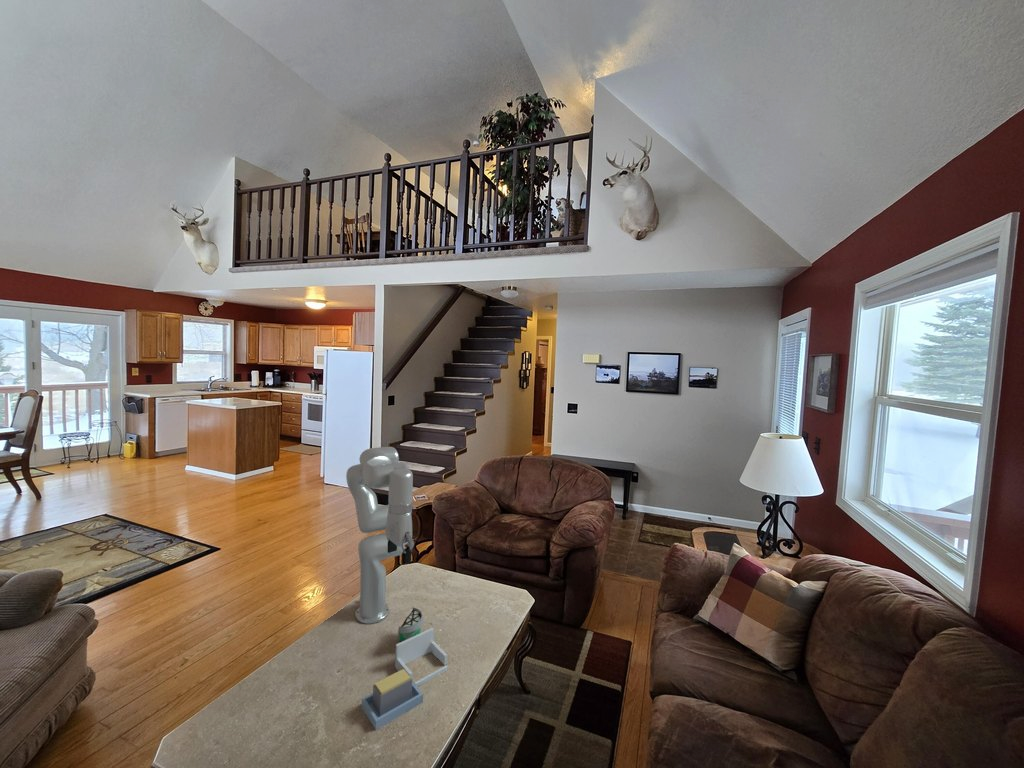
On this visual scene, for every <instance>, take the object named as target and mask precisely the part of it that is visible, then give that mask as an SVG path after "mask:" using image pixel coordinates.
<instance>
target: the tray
mask: <svg viewBox="0 0 1024 768" xmlns="http://www.w3.org/2000/svg"><path fill="white" fill-rule="evenodd" d="M423 703H424V694H423V692H422V691H421V689H419V686H418V687H417V686H416V685H415V682H413V680H412V699H410V700H408V701H406V702H405V703H403V704H401V705H399V706H398V707H396V708H394V709H392V710H391V711H389V712H387V713H385V714H384V715H382V716H379V714H378V713H377V711H376V710H375V708H374V706H373V692H372V693H370V694H368V695H366V696H364V697H362V698H361V709H362V710H363V712H364V713H365V715H366V717H367V718H368V719H369V722H370V723H371V725H372V726H373V727H374V729H375V731H376V730H378V729H380V728H382V727H384V726H386V725H387V724H389V723H390V722H393V721H394V720H395V719H397V718H399V717H401V716H402V715H404V714H406V713H408V712H409V711H410V710H412V709H414V708H416V707H417V706H419V705H421V704H423Z"/></svg>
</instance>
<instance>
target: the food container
mask: <svg viewBox="0 0 1024 768" xmlns="http://www.w3.org/2000/svg"><path fill="white" fill-rule="evenodd" d="M423 624H424V616H423V613H422V611H421V610H420V609H418V608H416V607H414V606H413V607H412V610H411V612H410V613H409V614H408V616H407V617H406V618H405V619H404V621H403V623H402V625H400V626H398V630H397V633H398V643H401V642H403V641H405V640H407V639H409V638H411V637H413V636H416V635H418V634H420V633H422V631H421V630H422V626H423Z"/></svg>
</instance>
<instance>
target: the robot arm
mask: <svg viewBox="0 0 1024 768" xmlns="http://www.w3.org/2000/svg"><path fill="white" fill-rule="evenodd" d="M399 461H400V456H399V453H398V451H397V449H396V448H395V447H394V446H381V447H380V446H379V447H371V448H367V449H365V450H363V451H362V452H361V454H360V456H359V463H358V464H355V465H351V466H350V467H348V469H347V471H346V476H345V477H346V484H347V487H348V490H349V492H350V494H351V496H352V498H353V500H354V504H355V512H356V519H357V524H358V528H359V531H360V532H361V533H362V534H371V533H376V532H382V531H385V532H383V533H379V534H373V535H369V536H367V537H364V538H362V539H361V540H360V541H359V543H358V544H357V546H358V549H357V551H358V558H359V564H360V565H359V566H360V567H359V569H360V570H359V572H360V573H359V575H360V578H359V607H358V608H357V609H356V611H355V619H356V621H358V623H359V622H360V623H362V624H367V625H369V624H376V623H379V622H382V621H383V620H385V619H386V618H387V617H388V615H389V614H390V607H389V605H388V604H387V603H386V588H387V587H386V586H387V585H386V583H387V579H386V578H387V571H386V567H385V565H384V564H383V563H382V562H381V561H383V560H386V559H391V558H394V557H398V556H401V563H400V564H401V565H402V566H404V565H407V564H410V563H411V562H412V552H413V549H414V546H415V541H414V540H413V520H412V511H413V488H414V487H413V486H414V485H413V482H414V481H413V479H414V475H413V474H414V473H413V472H412V470H410V467H409V466H408V464H407V463H405V462H399ZM380 488H388V504H386V505H379V504H378V503H379V502H378V497H377V494H376V493H375V492H374V491H373V490H372V489H380Z"/></svg>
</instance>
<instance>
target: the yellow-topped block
mask: <svg viewBox="0 0 1024 768" xmlns="http://www.w3.org/2000/svg"><path fill="white" fill-rule="evenodd" d="M412 681H413V677H412V678H411V677H410V676H409V675H408V673H407V672H406V671H405V670H404V669H402V670H400V671H398V670H397V672H394V673H392V674H391V675H388V676H386V677H385V678H383V679H380V680H379V681H377V682H375V683H374V684H373V685H372V693H373V706H374V708H375V710H376V711H377V713H378V714H379V716H382V715H384V714H385V713H387V712H389V711H391V710H392V709H394V708H396V707H398V706H399V705H401V704H403V703H405V702H406V701H408V700H410V699H412Z"/></svg>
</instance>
